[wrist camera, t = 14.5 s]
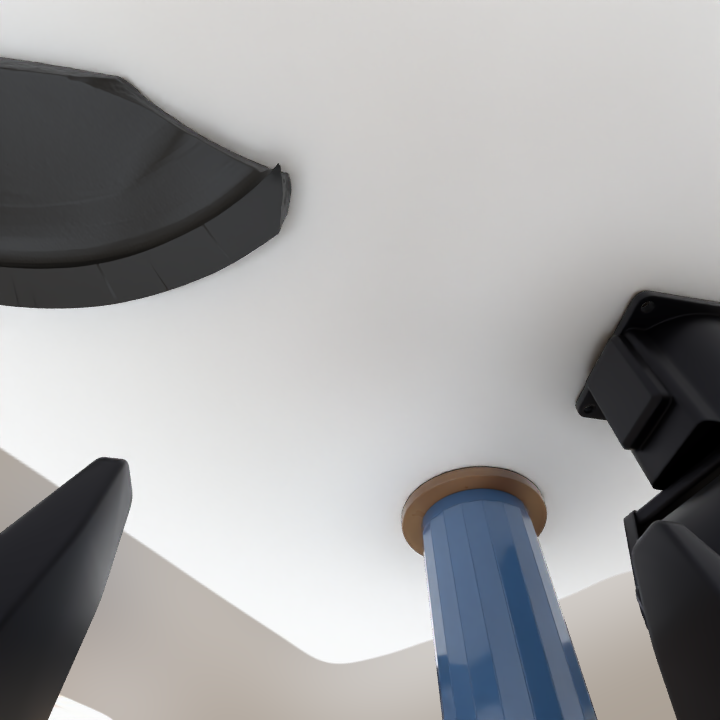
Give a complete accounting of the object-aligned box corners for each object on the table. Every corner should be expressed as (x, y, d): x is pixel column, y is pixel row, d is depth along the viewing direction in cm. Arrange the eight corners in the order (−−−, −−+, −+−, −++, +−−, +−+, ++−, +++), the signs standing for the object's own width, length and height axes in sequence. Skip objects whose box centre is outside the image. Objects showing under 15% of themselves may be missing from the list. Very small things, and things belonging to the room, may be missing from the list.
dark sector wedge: (282, 319, 22) (277, 340, 20) (-59, 275, 21) (-88, 295, 19) (297, 104, 17) (292, 113, 16) (-147, 31, 16) (-194, 34, 14)
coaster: (566, 476, 27) (570, 484, 27) (515, 563, 32) (517, 572, 31) (420, 457, 26) (421, 466, 26) (388, 550, 31) (389, 558, 31)
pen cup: (515, 474, 26) (613, 777, 16) (540, 541, 30) (635, 828, 19) (405, 505, 28) (432, 802, 18) (440, 565, 31) (480, 846, 21)
